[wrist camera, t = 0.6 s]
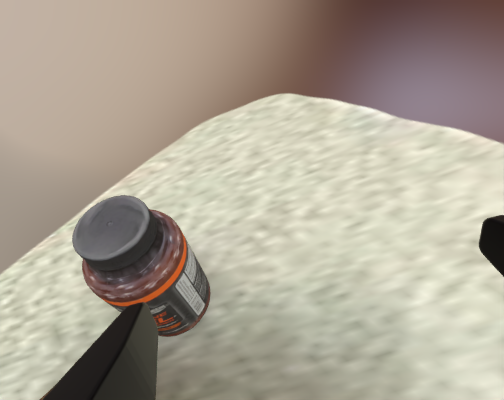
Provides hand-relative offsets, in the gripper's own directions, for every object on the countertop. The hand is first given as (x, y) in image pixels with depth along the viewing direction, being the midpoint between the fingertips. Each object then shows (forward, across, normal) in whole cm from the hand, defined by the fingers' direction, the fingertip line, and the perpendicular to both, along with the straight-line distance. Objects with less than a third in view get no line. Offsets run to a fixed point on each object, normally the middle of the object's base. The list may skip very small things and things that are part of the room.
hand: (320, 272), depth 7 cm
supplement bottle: (+13, +8, +11) cm, 19 cm away
